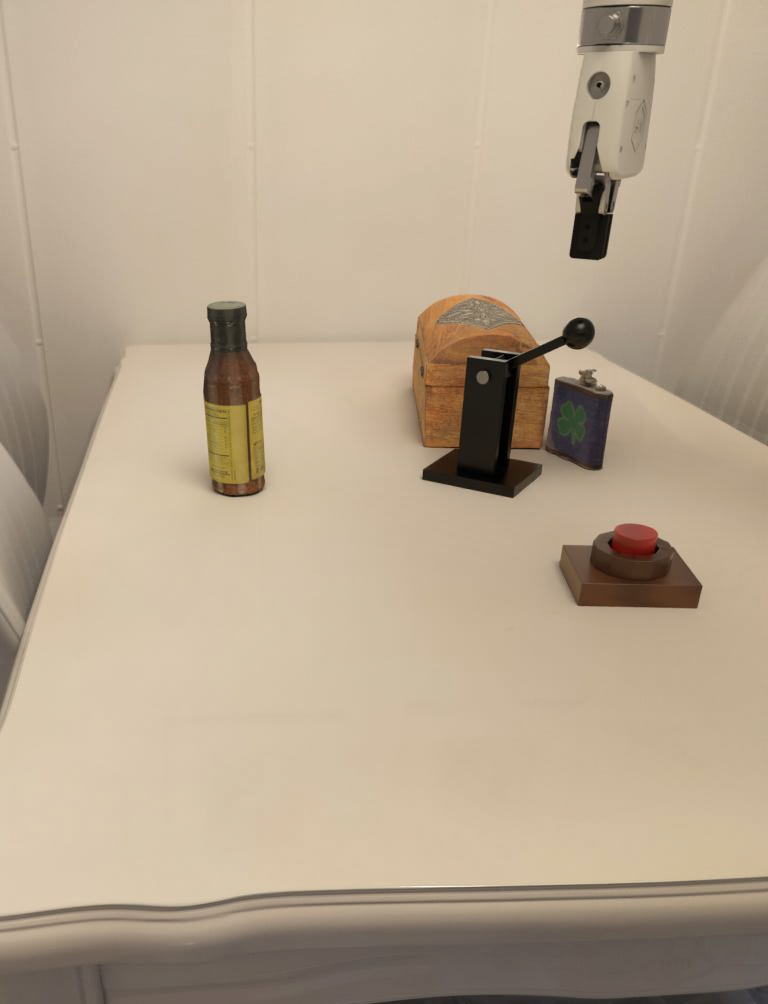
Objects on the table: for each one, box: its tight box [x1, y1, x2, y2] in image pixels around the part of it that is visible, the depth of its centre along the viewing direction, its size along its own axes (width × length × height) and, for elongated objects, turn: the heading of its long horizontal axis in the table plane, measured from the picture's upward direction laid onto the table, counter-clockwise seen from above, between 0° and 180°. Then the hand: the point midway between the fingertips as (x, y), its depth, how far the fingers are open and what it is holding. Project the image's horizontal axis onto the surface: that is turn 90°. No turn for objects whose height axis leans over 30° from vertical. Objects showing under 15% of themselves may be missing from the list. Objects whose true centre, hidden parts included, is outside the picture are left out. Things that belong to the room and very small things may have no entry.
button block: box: [558, 530, 703, 609], centre depth 80 cm, size 10×8×4 cm
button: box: [611, 522, 659, 556], centre depth 79 cm, size 4×4×2 cm
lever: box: [495, 316, 596, 378], centre depth 97 cm, size 13×3×3 cm
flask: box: [545, 368, 614, 471], centre depth 109 cm, size 9×3×11 cm, turn 24°
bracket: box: [421, 349, 543, 499], centre depth 103 cm, size 11×9×14 cm
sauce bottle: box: [202, 300, 266, 496], centre depth 98 cm, size 7×6×20 cm
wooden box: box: [412, 294, 551, 449], centre depth 124 cm, size 30×16×14 cm, turn 175°
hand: (587, 257), depth 90 cm, fingers closed
